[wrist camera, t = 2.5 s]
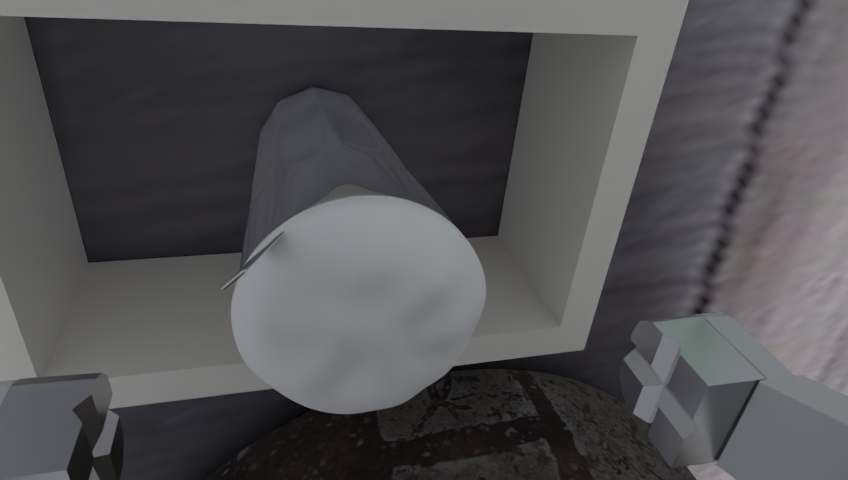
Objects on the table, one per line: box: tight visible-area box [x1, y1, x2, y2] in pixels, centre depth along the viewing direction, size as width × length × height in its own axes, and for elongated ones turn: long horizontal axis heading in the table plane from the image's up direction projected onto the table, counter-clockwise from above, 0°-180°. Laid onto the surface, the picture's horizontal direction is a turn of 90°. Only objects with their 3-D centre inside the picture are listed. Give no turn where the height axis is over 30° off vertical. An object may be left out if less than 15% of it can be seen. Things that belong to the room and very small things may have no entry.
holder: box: [0, 0, 689, 409], centre depth 15 cm, size 15×10×5 cm, turn 85°
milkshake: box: [220, 87, 486, 414], centre depth 13 cm, size 4×5×10 cm
